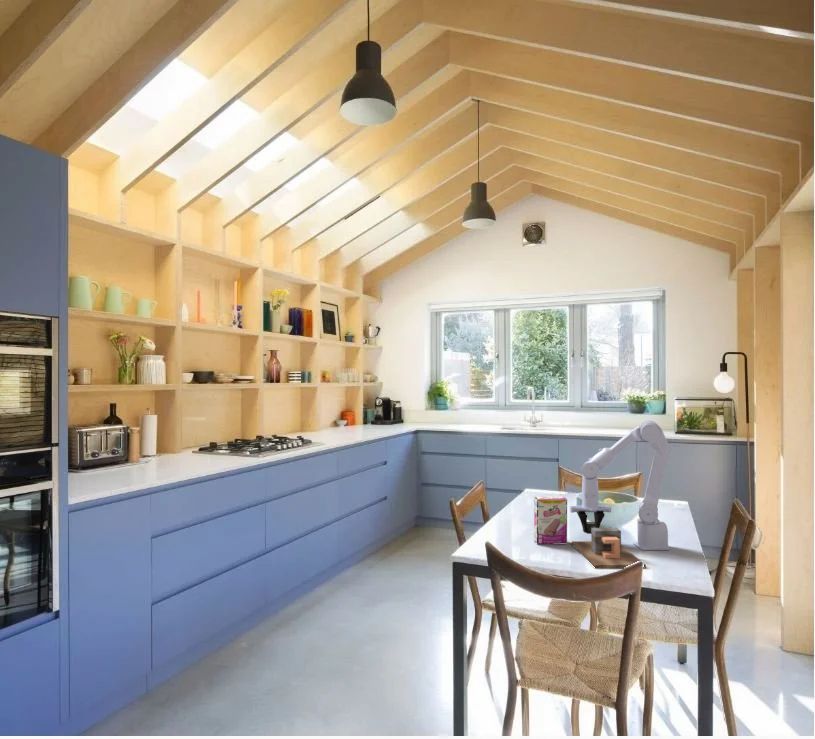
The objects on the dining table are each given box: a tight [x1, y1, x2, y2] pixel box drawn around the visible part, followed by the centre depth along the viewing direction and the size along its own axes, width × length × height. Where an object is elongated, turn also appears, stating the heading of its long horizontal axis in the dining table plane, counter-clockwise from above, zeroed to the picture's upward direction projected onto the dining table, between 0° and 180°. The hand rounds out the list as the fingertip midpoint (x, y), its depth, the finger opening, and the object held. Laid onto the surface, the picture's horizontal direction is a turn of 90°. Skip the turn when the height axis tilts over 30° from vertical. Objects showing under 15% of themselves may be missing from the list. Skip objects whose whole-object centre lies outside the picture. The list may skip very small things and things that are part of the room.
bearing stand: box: [571, 527, 647, 569], centre depth 193 cm, size 16×26×9 cm, turn 0°
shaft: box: [586, 521, 604, 543], centre depth 203 cm, size 4×17×4 cm, turn 0°
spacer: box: [601, 537, 620, 558], centre depth 189 cm, size 6×4×5 cm
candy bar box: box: [533, 496, 568, 545], centre depth 208 cm, size 11×5×16 cm, turn 92°
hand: (590, 532), depth 210 cm, fingers closed on shaft, 4 cm apart
